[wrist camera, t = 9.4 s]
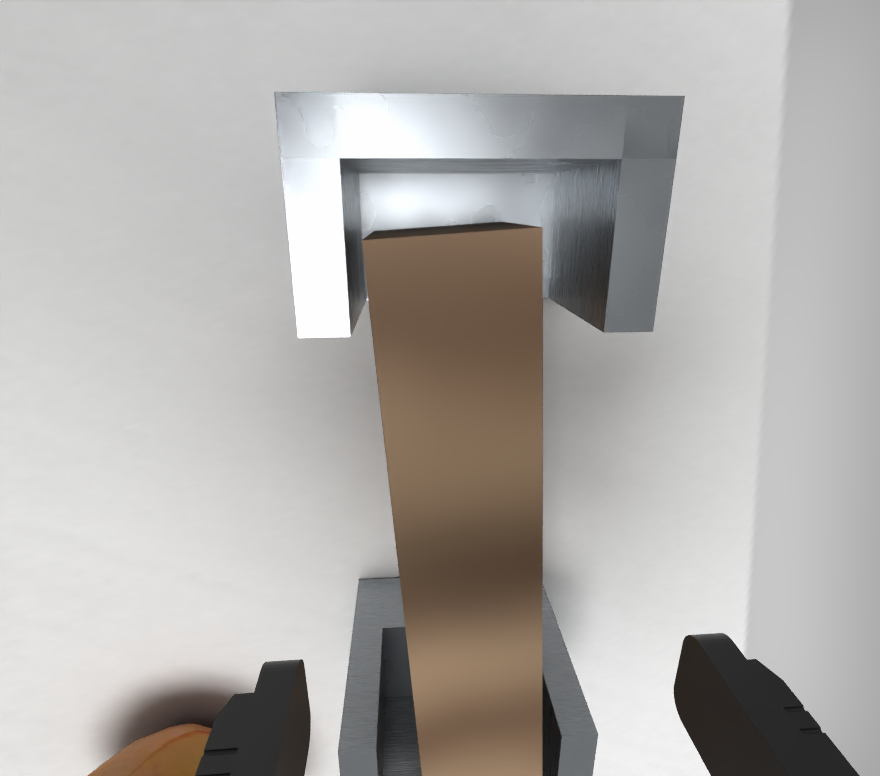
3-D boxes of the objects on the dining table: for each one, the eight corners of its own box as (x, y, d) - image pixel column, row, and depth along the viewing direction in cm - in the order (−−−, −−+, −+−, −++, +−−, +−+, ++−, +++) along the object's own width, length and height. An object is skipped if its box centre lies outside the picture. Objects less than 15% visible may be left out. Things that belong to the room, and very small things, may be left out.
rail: (374, 230, 16) (361, 240, 11) (502, 221, 16) (542, 227, 11) (420, 670, 22) (424, 797, 17) (512, 660, 22) (542, 783, 17)
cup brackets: (329, 141, 18) (274, 91, 10) (568, 142, 18) (684, 96, 11) (364, 662, 25) (347, 853, 18) (532, 653, 26) (584, 835, 18)
